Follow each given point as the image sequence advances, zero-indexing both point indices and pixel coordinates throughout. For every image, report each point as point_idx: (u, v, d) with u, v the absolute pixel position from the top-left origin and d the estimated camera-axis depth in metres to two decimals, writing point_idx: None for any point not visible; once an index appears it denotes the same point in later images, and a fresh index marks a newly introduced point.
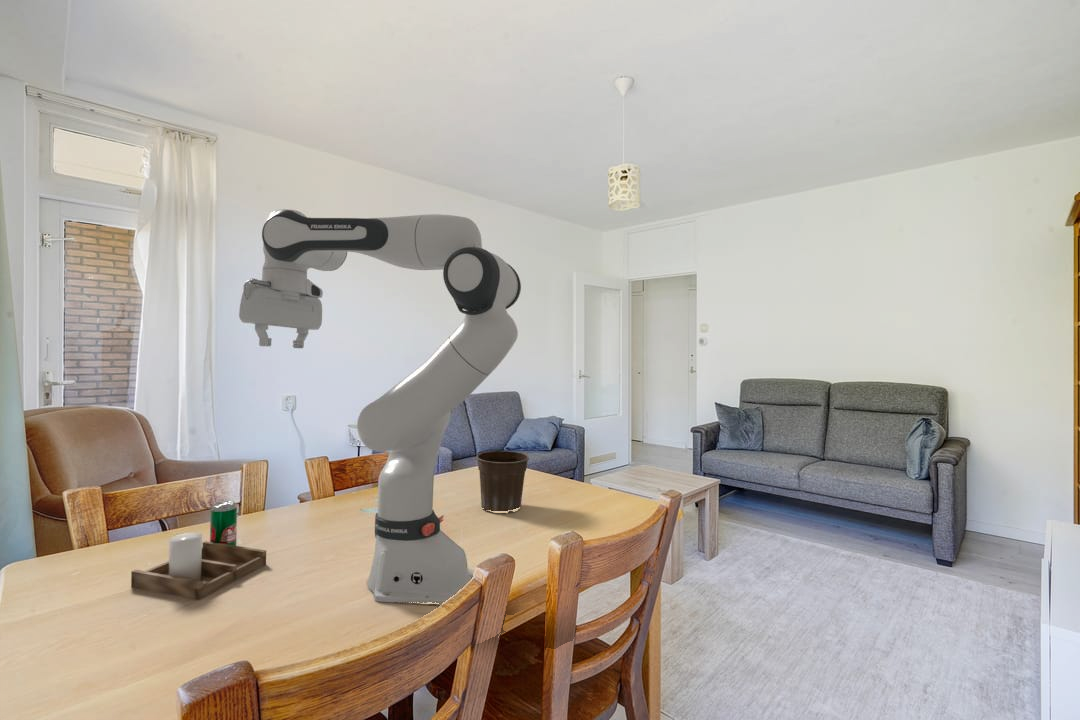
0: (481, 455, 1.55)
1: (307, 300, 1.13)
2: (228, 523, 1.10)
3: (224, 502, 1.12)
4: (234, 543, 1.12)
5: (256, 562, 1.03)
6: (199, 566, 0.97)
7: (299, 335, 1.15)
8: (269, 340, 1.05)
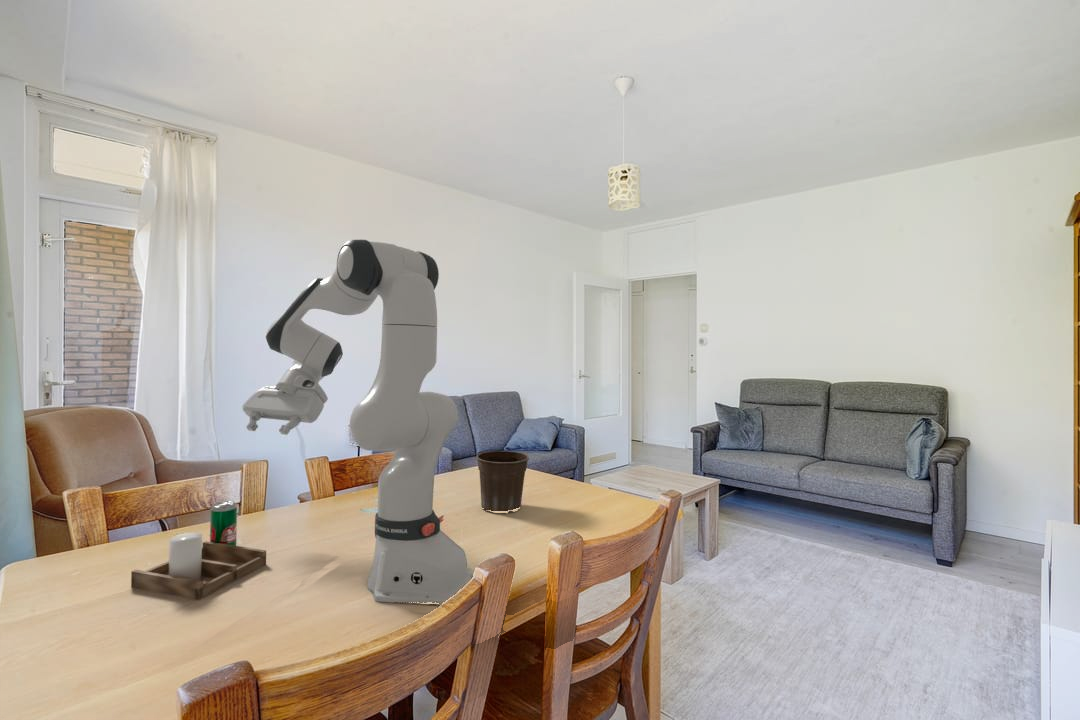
0: (481, 455, 1.55)
1: (299, 392, 1.27)
2: (228, 523, 1.10)
3: (224, 502, 1.12)
4: (234, 543, 1.12)
5: (256, 562, 1.03)
6: (199, 566, 0.97)
7: None
8: (251, 423, 1.24)
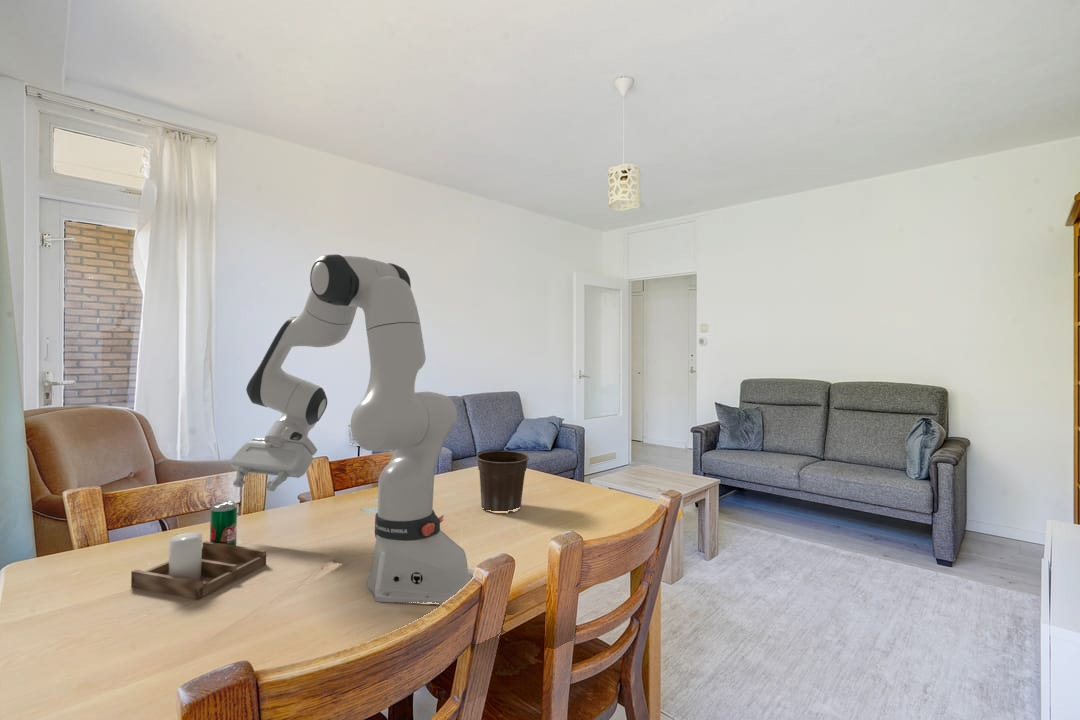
0: (481, 455, 1.55)
1: (287, 446, 1.24)
2: (228, 523, 1.10)
3: (224, 502, 1.12)
4: (234, 543, 1.12)
5: (256, 562, 1.03)
6: (199, 566, 0.97)
7: None
8: (238, 479, 1.21)
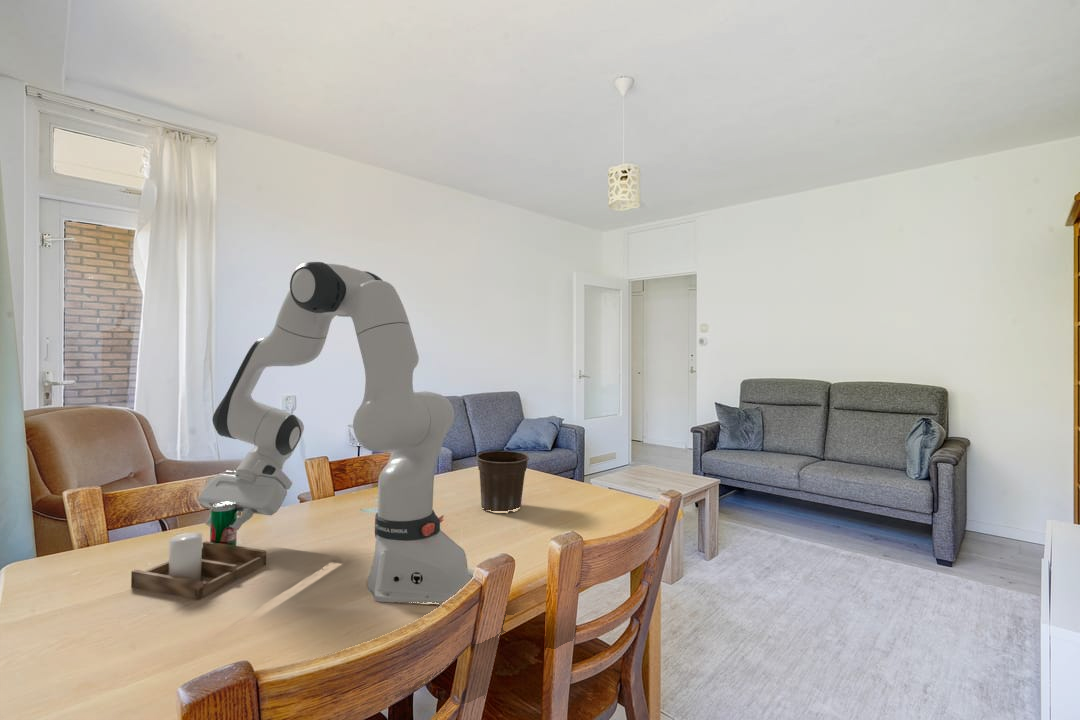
0: (481, 455, 1.55)
1: (259, 480, 1.15)
2: (228, 523, 1.10)
3: (224, 502, 1.12)
4: (234, 543, 1.12)
5: (256, 562, 1.03)
6: (199, 566, 0.97)
7: None
8: None
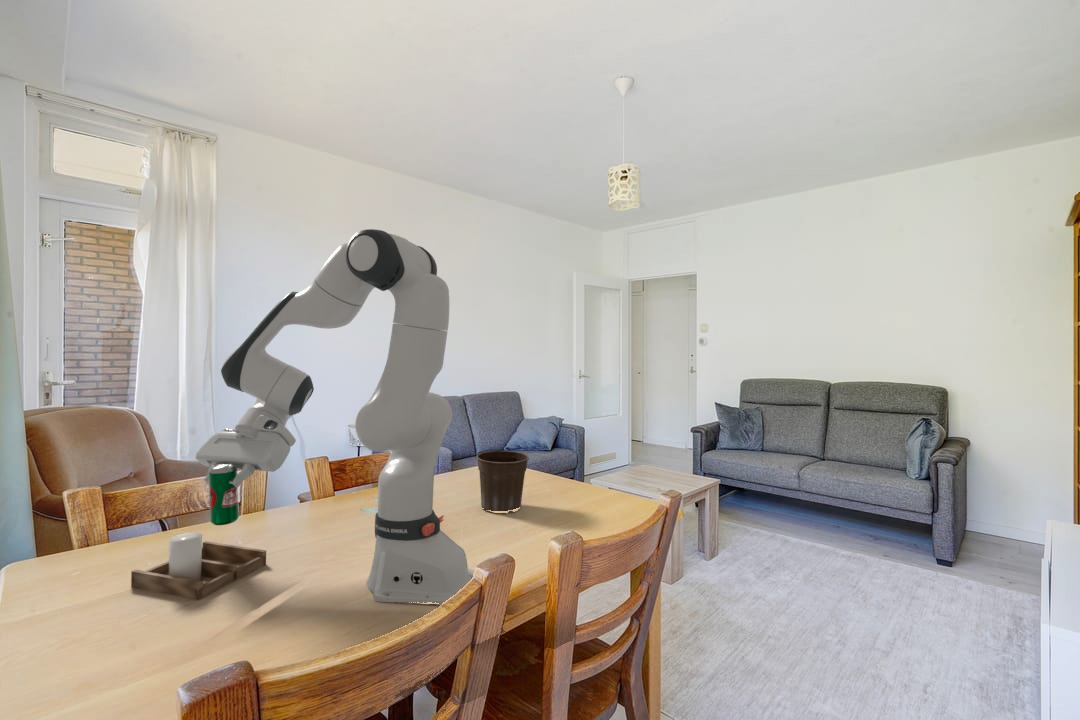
0: (481, 455, 1.55)
1: (260, 435, 1.08)
2: (229, 485, 1.03)
3: (222, 464, 1.05)
4: (236, 507, 1.05)
5: (256, 562, 1.03)
6: (199, 566, 0.97)
7: None
8: None
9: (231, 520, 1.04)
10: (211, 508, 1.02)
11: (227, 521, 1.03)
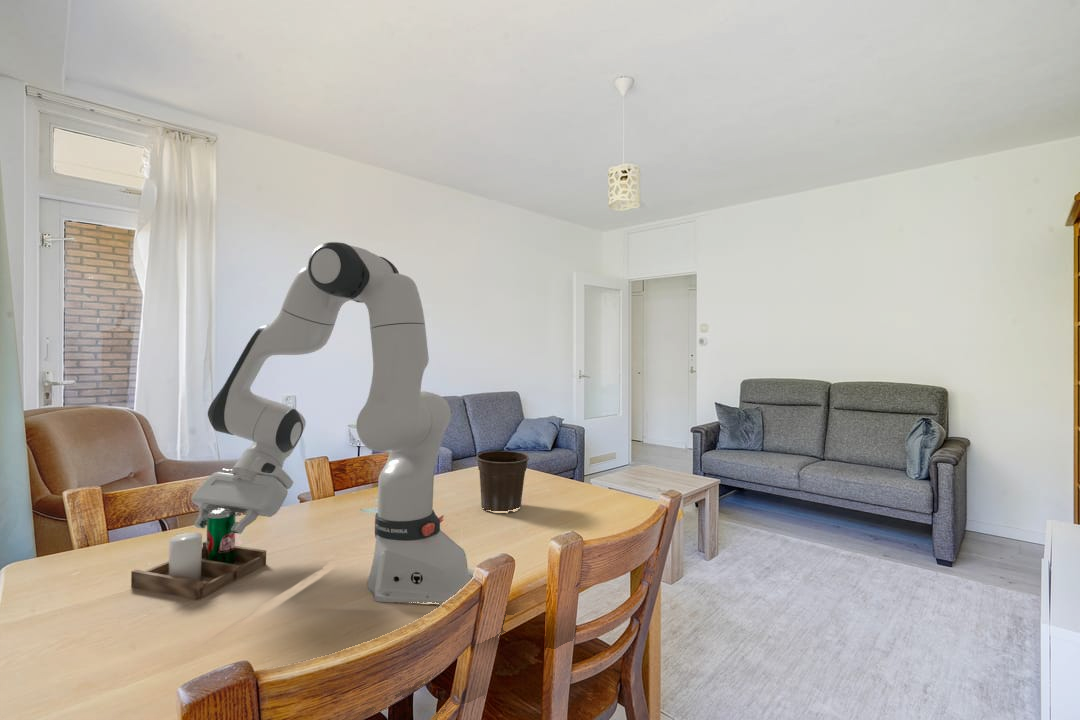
0: (481, 455, 1.55)
1: (258, 479, 1.07)
2: (227, 530, 1.02)
3: (221, 508, 1.05)
4: (233, 551, 1.04)
5: (256, 562, 1.03)
6: (199, 566, 0.97)
7: None
8: (200, 519, 1.04)
9: None
10: (207, 553, 1.02)
11: None
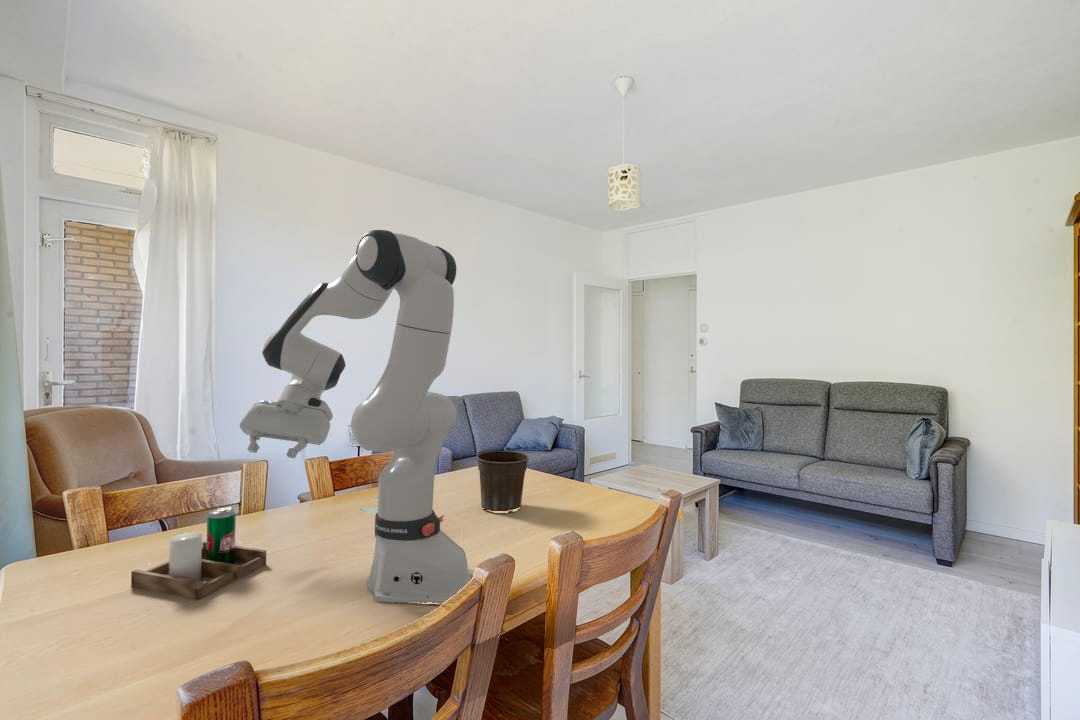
0: (481, 455, 1.55)
1: (305, 411, 1.20)
2: (227, 530, 1.02)
3: (221, 508, 1.05)
4: (233, 552, 1.04)
5: (256, 562, 1.03)
6: (199, 566, 0.97)
7: None
8: (253, 444, 1.16)
9: None
10: (207, 553, 1.02)
11: None
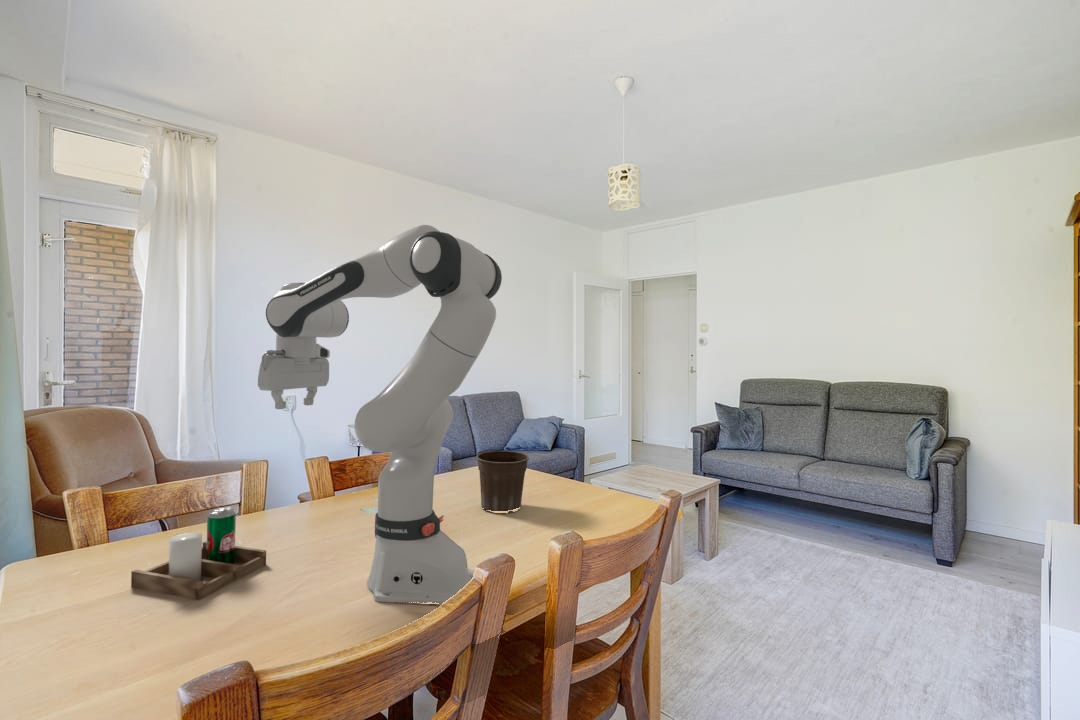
0: (481, 455, 1.55)
1: (317, 362, 1.24)
2: (227, 530, 1.03)
3: (221, 508, 1.05)
4: (233, 551, 1.04)
5: (256, 562, 1.03)
6: (199, 566, 0.97)
7: (309, 393, 1.26)
8: (284, 403, 1.16)
9: None
10: (207, 553, 1.02)
11: None
